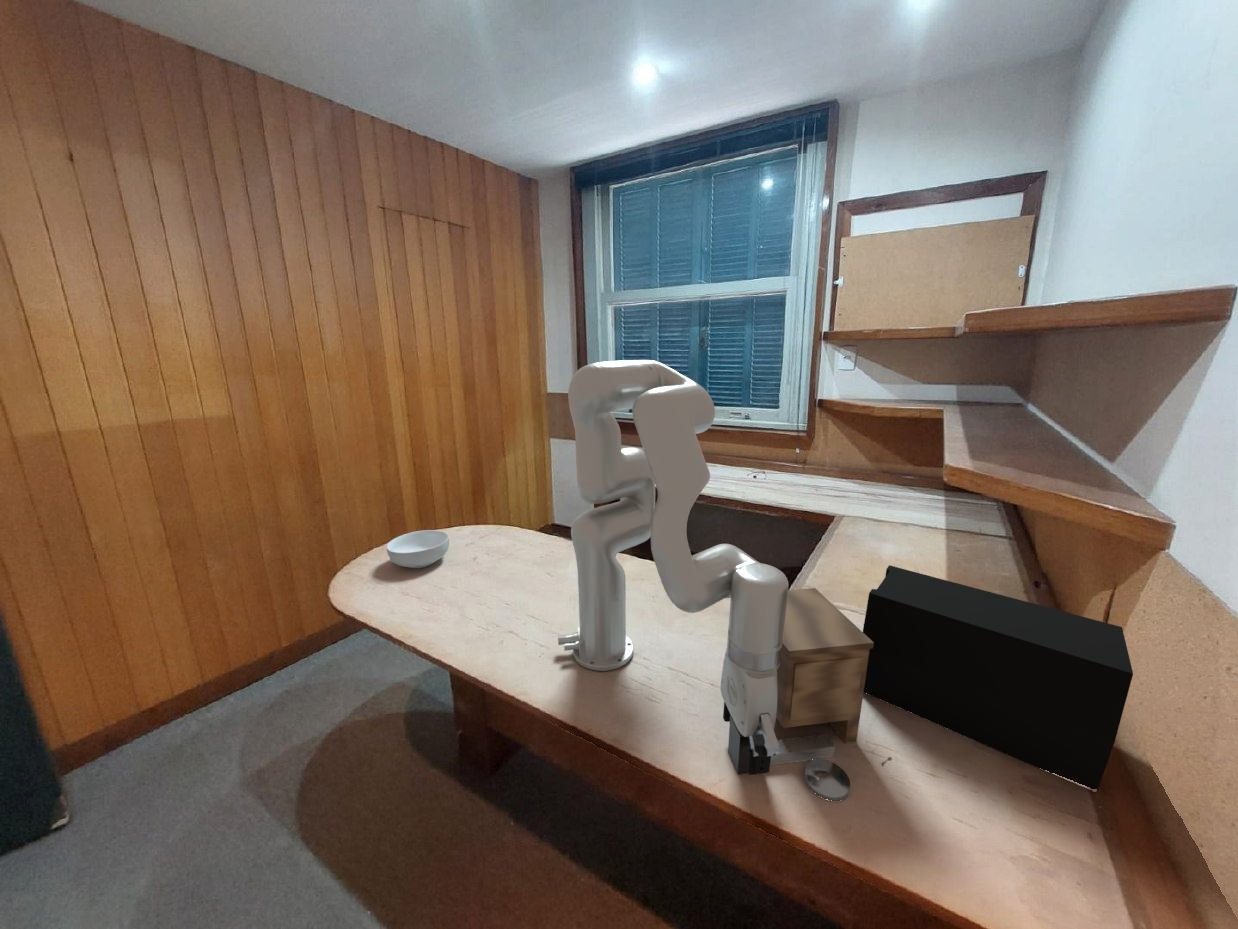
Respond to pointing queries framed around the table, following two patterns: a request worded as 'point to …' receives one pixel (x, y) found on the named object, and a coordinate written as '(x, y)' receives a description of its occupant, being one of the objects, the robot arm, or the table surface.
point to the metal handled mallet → (787, 750)
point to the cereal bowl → (418, 548)
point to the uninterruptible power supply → (1000, 671)
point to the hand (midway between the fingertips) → (744, 744)
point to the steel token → (827, 779)
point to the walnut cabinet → (821, 665)
